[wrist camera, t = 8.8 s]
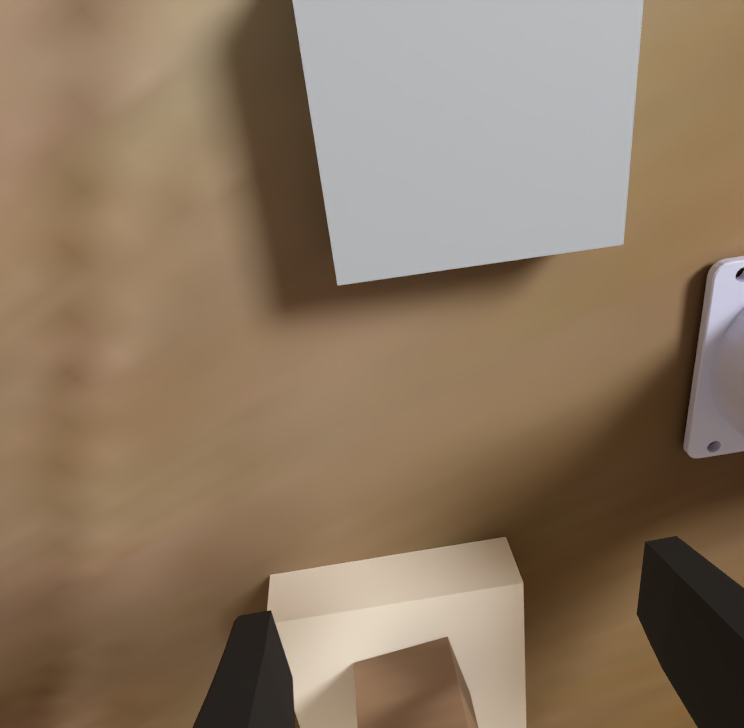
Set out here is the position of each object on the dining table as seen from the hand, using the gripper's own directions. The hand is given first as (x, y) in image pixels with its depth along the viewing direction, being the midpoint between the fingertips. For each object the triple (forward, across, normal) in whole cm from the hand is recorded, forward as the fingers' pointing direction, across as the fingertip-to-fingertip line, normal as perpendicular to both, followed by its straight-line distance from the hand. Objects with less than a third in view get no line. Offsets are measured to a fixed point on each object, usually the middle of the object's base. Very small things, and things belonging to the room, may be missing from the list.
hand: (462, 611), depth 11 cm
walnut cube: (+8, +1, +14) cm, 16 cm away
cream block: (+11, +1, +14) cm, 18 cm away
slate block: (+11, -3, -8) cm, 14 cm away
